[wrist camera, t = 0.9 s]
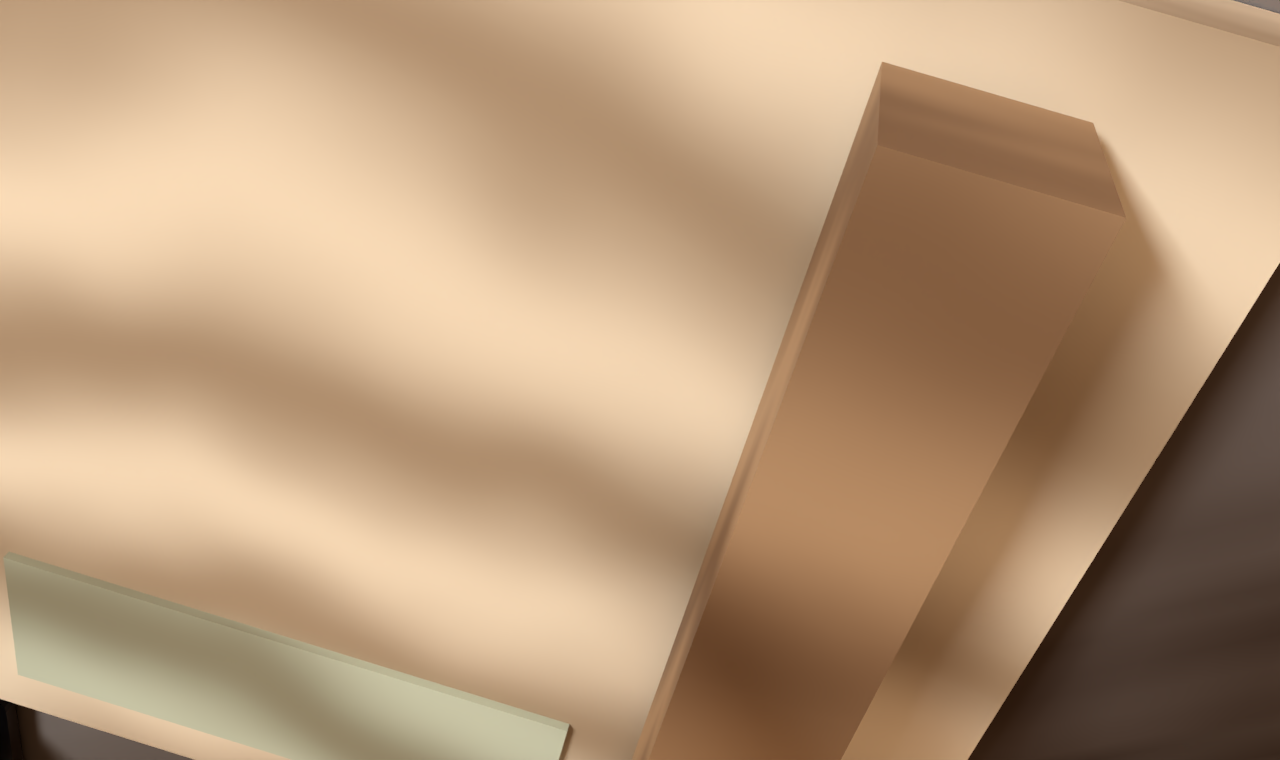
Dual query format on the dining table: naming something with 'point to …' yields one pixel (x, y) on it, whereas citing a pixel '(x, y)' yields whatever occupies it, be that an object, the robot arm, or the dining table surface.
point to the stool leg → (883, 412)
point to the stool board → (528, 346)
